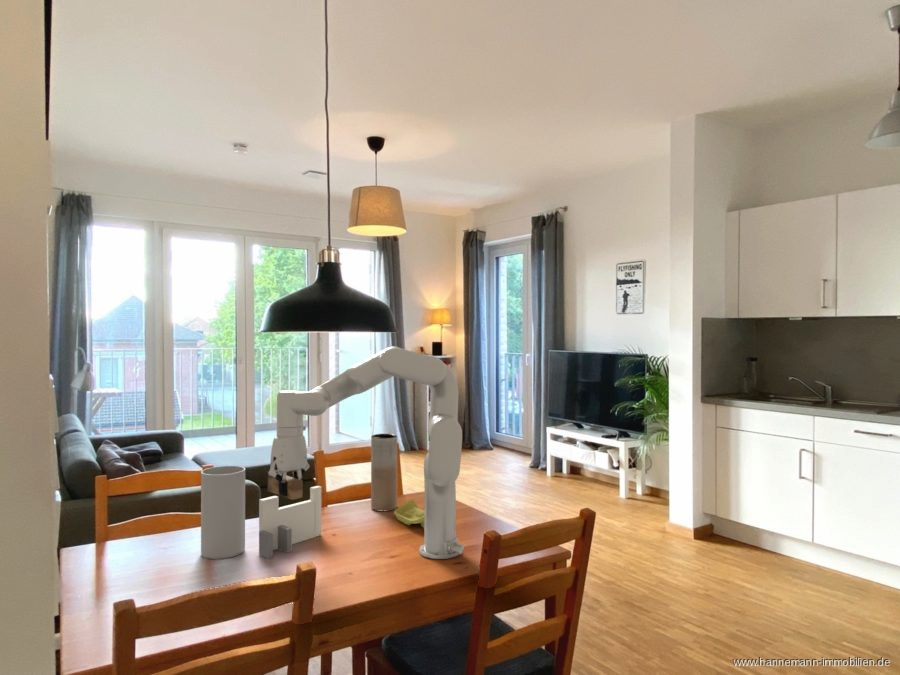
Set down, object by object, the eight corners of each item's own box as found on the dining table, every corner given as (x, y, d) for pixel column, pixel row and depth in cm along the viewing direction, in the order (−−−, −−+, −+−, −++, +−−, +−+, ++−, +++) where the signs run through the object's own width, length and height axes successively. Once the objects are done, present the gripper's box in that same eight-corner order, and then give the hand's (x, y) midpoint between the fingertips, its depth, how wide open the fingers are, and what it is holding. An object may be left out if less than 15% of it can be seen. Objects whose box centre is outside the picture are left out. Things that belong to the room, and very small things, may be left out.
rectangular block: (302, 497, 171) (302, 477, 171) (292, 499, 168) (292, 479, 168) (277, 488, 179) (278, 470, 179) (267, 491, 176) (267, 472, 176)
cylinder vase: (222, 562, 169) (222, 476, 169) (191, 556, 174) (191, 472, 174) (253, 548, 180) (254, 468, 180) (223, 542, 185) (224, 464, 185)
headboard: (330, 538, 189) (330, 489, 189) (268, 558, 172) (268, 504, 172) (317, 533, 194) (317, 485, 194) (255, 553, 176) (255, 500, 176)
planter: (388, 502, 231) (388, 432, 231) (401, 508, 223) (402, 436, 223) (366, 507, 225) (366, 435, 225) (379, 513, 217) (379, 438, 217)
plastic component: (391, 512, 211) (414, 496, 215) (400, 529, 212) (422, 513, 216) (414, 523, 193) (438, 506, 198) (424, 542, 195) (447, 524, 199)
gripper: (305, 427, 181) (305, 486, 181) (257, 433, 168) (257, 497, 168) (320, 430, 176) (320, 490, 176) (272, 436, 163) (271, 502, 163)
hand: (289, 493), depth 172 cm, fingers closed on rectangular block, 3 cm apart
